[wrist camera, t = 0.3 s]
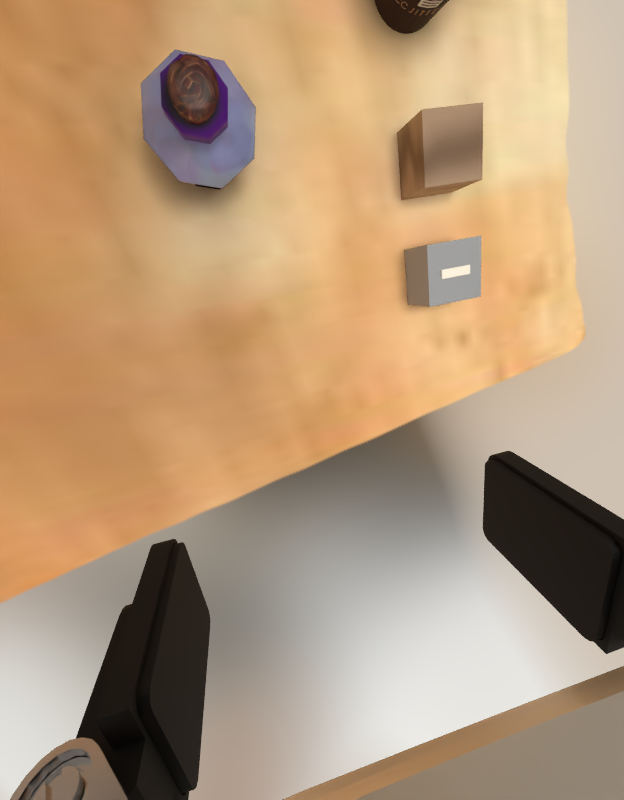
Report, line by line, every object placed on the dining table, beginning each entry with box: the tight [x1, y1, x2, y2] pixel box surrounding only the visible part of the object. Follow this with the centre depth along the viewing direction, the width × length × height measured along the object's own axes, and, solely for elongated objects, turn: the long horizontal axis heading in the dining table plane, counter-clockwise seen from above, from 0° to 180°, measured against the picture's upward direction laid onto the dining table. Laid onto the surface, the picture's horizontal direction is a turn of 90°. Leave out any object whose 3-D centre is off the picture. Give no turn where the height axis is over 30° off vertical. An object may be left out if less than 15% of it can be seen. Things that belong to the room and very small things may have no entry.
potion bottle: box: [141, 50, 256, 189], centre depth 26 cm, size 9×9×12 cm
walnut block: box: [397, 103, 483, 200], centre depth 33 cm, size 6×6×5 cm
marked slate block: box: [404, 236, 481, 307], centre depth 37 cm, size 6×6×5 cm
